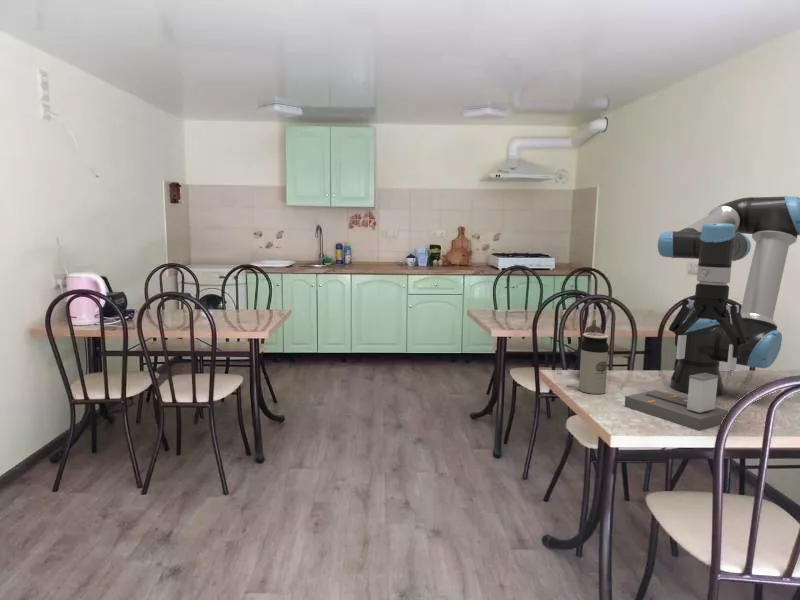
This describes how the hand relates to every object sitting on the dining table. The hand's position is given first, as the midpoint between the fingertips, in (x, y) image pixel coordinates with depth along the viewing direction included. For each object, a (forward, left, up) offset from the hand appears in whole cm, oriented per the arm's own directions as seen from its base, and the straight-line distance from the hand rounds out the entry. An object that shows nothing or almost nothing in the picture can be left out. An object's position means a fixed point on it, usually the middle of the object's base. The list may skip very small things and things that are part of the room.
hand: (704, 364), depth 145 cm
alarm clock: (-10, -45, -16) cm, 49 cm away
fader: (0, 0, -12) cm, 12 cm away
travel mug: (+3, -33, -16) cm, 37 cm away
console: (0, -7, -16) cm, 17 cm away
